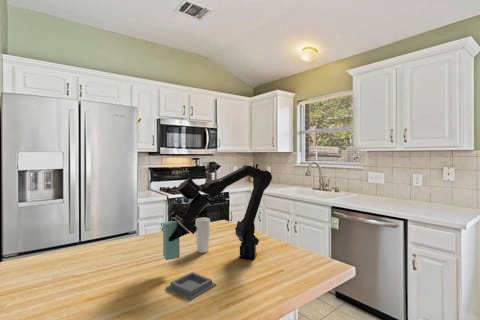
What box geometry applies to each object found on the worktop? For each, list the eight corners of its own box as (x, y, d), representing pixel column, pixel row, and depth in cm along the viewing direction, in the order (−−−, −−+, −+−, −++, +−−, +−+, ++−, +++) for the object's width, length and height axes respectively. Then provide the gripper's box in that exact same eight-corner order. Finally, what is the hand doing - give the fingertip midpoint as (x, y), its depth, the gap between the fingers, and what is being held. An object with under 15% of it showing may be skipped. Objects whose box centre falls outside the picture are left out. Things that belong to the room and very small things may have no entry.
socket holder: (192, 275, 101) (192, 270, 101) (216, 285, 94) (216, 279, 93) (166, 288, 91) (166, 282, 91) (190, 300, 84) (190, 294, 84)
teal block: (176, 253, 106) (175, 220, 106) (179, 257, 102) (179, 223, 102) (163, 255, 104) (162, 222, 104) (166, 260, 100) (165, 225, 99)
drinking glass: (207, 254, 122) (207, 221, 121) (193, 253, 123) (193, 220, 123) (212, 249, 128) (212, 217, 128) (198, 248, 130) (198, 217, 129)
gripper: (174, 190, 112) (147, 220, 108) (188, 197, 96) (156, 232, 91) (193, 207, 116) (167, 236, 111) (209, 217, 100) (179, 251, 95)
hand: (167, 238), depth 102 cm, fingers closed on teal block, 5 cm apart
